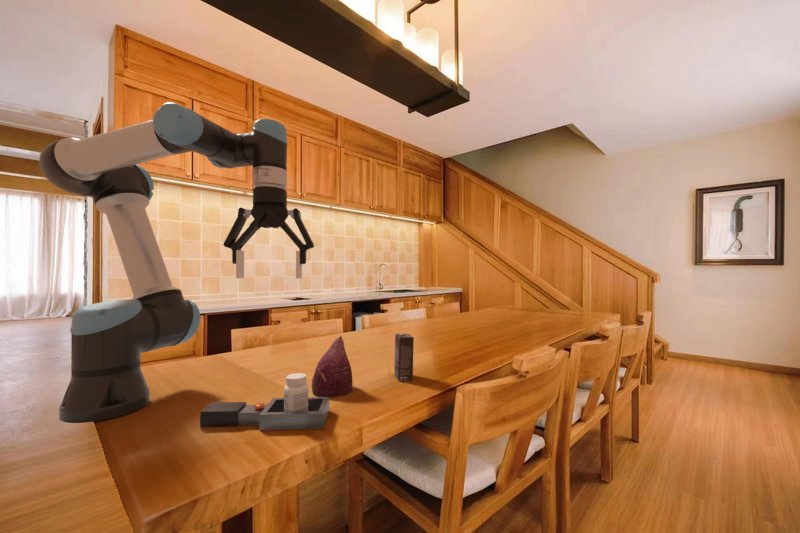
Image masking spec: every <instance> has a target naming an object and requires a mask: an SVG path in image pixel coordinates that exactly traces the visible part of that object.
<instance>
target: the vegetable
mask: <svg viewBox="0 0 800 533" xmlns="http://www.w3.org/2000/svg"><path fill="white" fill-rule="evenodd" d="M352 372H353V371H352V366H351V363H350V360H349V358H348V355H347V352H346V349H345V342H344V340H343V337H342V335H339V337H337V338H336V339H334V340H333V343H332V344H331V345H330V346H329V348H328V350H326V352H325V353H324V354H323V355H322V357H320V359H319V361H318V363H317V365H316V367H315V370H314V373H313V376H312V381H311V391H312V394H313V395H314V397H329V398H335V397H341V396H346V395H349V394H351V393H352V392H353V386H354V385H353V373H352Z"/></svg>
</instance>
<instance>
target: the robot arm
mask: <svg viewBox="0 0 800 533" xmlns="http://www.w3.org/2000/svg"><path fill="white" fill-rule="evenodd" d="M252 125H253V127H252V131H249V132H243V133H242V132H241V133H235V132H232V131H230V130H229V129H226V128H225V127H223V126H221V125H219V124H217V123H215V122H213V121H212V120H210V119H208V118H206V117H204V116H203V115H201V114H199V113H198V112H195V111H194V110H193V109H190V108H189V107H186V106H183V105H181V104H179V103H176V102H166V103H163V104H161V106H160V108H159V109H156V111H155V113H154V115H153V119H151V120H146V121H141V122H139V123H135V124H132V125H129V126H128V125H127V126H125V127H121V128H117V129H113V130H110V131H107V132H102V133H99V134H96V135H92V136H88V137H84V138H78V137H77V138H76V137H65V138H61V139H58V140H56V141H52V142H50V143H49V144H48V145H46V146H45V147H44V148H43V149H42V150H41V152H40V154H39V158H38V159H39V161H38V164H39V169H40V170H41V172H42V174H43V175H44V177H45V178H46V179H47V181H49V182H50V183H51V184H52V185H54V186H55V187H56V188H58V189H60V190H62V191H64V192H67V193H69V194H74V195H79V196H83V197H89V198H92V200H93V203H94V206H95V208H96V210H97V211H98V212H100V213H101V214H105V216H106V218H107V221H108V224H109V228H110V229H111V233H112V236H113V239H114V242H115V245H116V247H117V251H118V254H119V256H120V259H121V263H122V266H123V269H124V271H125V275H126V278H127V280H128V283H129V286H130V288H131V292H132V295H133V297H132V298H131V299H130V298H129V299H117V300H109V301H108V300H107V301H100V302H95V303H92V304H87V305H85V306H81V307H80V308H77V310H75V311H74V312H73V314H72V318H71V327H70V329H69V331H70V334H71V338H70V339H71V345H70V346H71V347H70V348H71V351H70V355H71V356H70V358H71V362H70V363H71V366H70V367H71V371H70V372H71V373H70V375H71V376H70V382H69V383H68V386H67V388H66V391H65V393H64V396H63V398H62V402H61V403H60V405H59V406H58V407H59V408H58V419H59V421H61V422H63V423H66V424H81V423H82V424H84V423H92V422H98V421H104V420H110V419H113V418H117V417H121V416H124V415H127V414H130V413H132V412H135V411H137V410H140V409H141V408H143V407H145V406H147V405H148V404H149V402H150V400H151V391H150V388H149V387H148V383H147V381H146V378H145V375H144V373H143V371H142V368H141V367H142V366H141V364H142V363H141V361H142V360H141V358H142V357H141V356H142V353H146V352H147V353H148V352H151V351H155V350H159V349H163V348H167V347H175V346H177V345H179V344H182V343H185V342H188V341H189V340H191V339H192V338H193V337H195V336H194V335H195V334H196V333H197V332H198V328H199V327H200V323H201V312H200V309H199V307H198V305H197V304H196V303H195V302H193V301H192V300H190V299H186V298H184V295H183V292H182V290H181V288H178V287H175V286H174V285H173V284H172V281H171V279H170V275H169V273H168V270H167V267H166V264H165V261H164V259H163V256H162V253H161V250H160V247H159V244H158V241H157V239H156V236H155V233H154V231H153V227H152V225H151V222H150V218H149V216H148V213H147V209H146V208H147V207H148V206H149V205H150V201H151V199H152V197H153V195H154V192H153V191H154V189H155V187H154V182H153V181H154V180H153V178H152V176H151V175H150V173H149V172H148V171H147V170H146V168H144V167H142V166H141V165H140V164H144V163H148V162H152V161H156V160H159V159H164V158H169V157H172V156H176V155H180V154H186V153H189V152H192V153H193V152H194V153H197V154H199V155H201V156H204V157H206V158H207V159H208V160H207V161H209V162H211V164H212V165H213V166H215V167H216V168H220V169H234V168H242V167H251V166H253V168H252V185H253V186H254V187H253V189H252V207H251V209H248V208H247V209H246V208H243V207H239V208H238V210H237V217H236V219H235V221H234V223H233V225H232V226H231V228H230V230H229V232H228V233H227V236H226V238H225V240H224V242H223V247H225V248H227V249H228V248H229V249H230V250H231V260H232V261H231V262H232V265H235V278H236V279H245V250H242V248H243V247H244V246H246V244H247V243H248V242H249V241H250V239H251V238H252V237H253V236H254V235H255V234H256V233H257V231H259V230H260V229H261V228H264V229H269V228H272V229H279V228H280V229H281V230H283V232H285V234H286V235H287V236H288V237H289V239H290V240H291V241H292V242H293V243H294V244H295V245H296V247H297V248H298V249H299V250H295V279H302V278H303V271H302V270H303V265H306V263H307V251H308V250H310V249H314V247H315V244H314V242H313V240H312V238H311V236H310V234H309V232H308V230H307V228H306V226H305V224H304V222H303V220H302V216H301V215H302V214H301V213H302V212H301V211H300V210H299V209H298V208H293V209H289V210H288V201H287V200H288V192H287V190H286V189H287V188H288V172H287V171H288V170H287V167H288V166H287V163H288V146H289V143H288V135H287V134H288V133H287V128H286V126H285V125H284V124H283V123H281V122H279V121H277V120H275V119H270V118H259V119H257V120H255V121H254V122H253V124H252ZM250 216H252V218H253V220H252V221H251V222H250V224H249V226H248V227H247V228H246V229H245V230H244V232H243V233H242V234H241V232H242V230H243V228H244V226H245V224H246V222H247V219H249V218H250ZM289 216H290V218H291V219H293V220H294V223H295V224H296V226H297V228H298V230H299V233H300V235H301V236H302V238H303V241H304V242H302V240H301V239H300V238H299V237H298V235H297V234H296V233H295V232H294V230H292V228H291V227H290V226H289V224H288V223H287V222H286V220H287V218H289ZM240 234H241V235H240ZM304 243H305V244H304Z"/></svg>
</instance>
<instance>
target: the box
mask: <svg viewBox="0 0 800 533" xmlns="http://www.w3.org/2000/svg"><path fill="white" fill-rule="evenodd" d="M394 337H395V338H394V373H393V375H394V376H395V377H396V379H397V381H399V382H405V381H413V380H414V376H413V375H414V336H412V335H411V334H409V333H395V336H394Z"/></svg>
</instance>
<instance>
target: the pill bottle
mask: <svg viewBox="0 0 800 533" xmlns="http://www.w3.org/2000/svg"><path fill="white" fill-rule="evenodd" d="M285 384H286V385H285V386H284V389H283V398H284V412H308V397H309V385H308V383H307V374H306V373H303V372H296V373H290V374H288V375H287V376H286V377H285Z"/></svg>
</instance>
